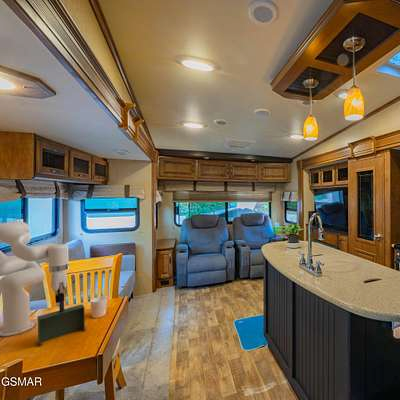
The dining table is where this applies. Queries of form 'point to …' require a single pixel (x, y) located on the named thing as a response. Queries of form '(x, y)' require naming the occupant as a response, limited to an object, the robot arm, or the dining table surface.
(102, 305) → the white cup
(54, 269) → the robot arm
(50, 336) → the dustpan
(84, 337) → the dining table surface
